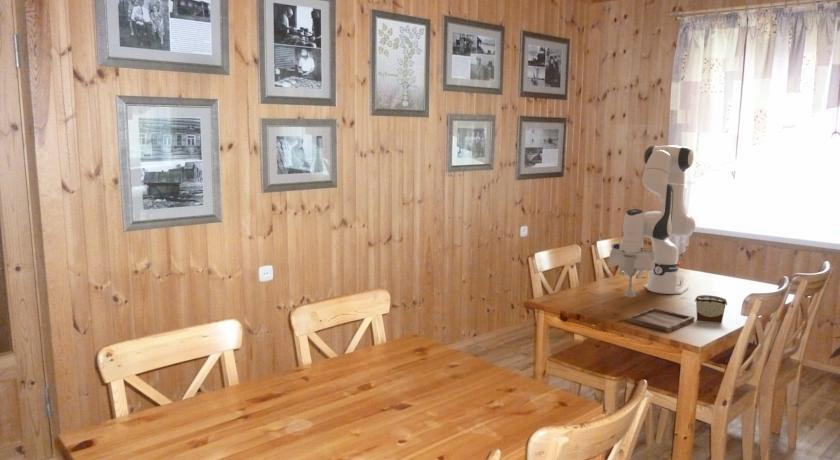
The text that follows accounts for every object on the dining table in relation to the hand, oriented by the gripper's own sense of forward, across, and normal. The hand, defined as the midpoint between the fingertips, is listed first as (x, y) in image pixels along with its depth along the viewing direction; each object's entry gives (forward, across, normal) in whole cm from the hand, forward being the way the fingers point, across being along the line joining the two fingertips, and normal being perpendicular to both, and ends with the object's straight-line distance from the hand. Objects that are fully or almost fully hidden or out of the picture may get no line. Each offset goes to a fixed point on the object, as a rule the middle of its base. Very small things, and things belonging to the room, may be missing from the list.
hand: (630, 276), depth 277 cm
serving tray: (+13, -20, +11) cm, 26 cm away
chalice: (+9, 0, 0) cm, 9 cm away
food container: (+14, -32, -7) cm, 36 cm away
